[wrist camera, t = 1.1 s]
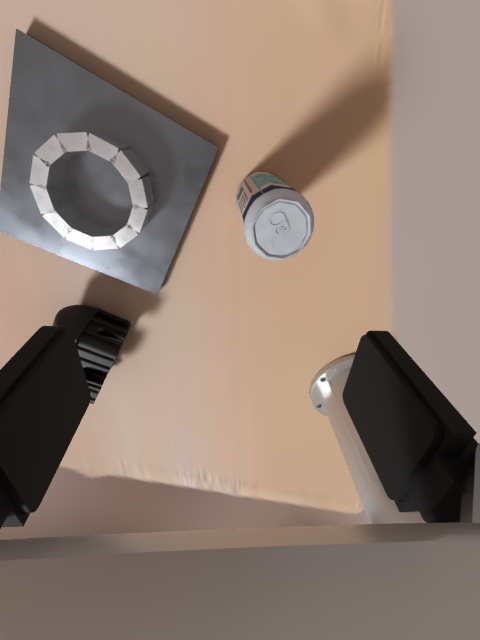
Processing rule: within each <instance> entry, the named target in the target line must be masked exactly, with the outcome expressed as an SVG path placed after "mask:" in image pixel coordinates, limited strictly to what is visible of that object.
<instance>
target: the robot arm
mask: <svg viewBox="0 0 480 640" xmlns="http://www.w3.org/2000/svg"><path fill="white" fill-rule="evenodd" d="M309 394H310V399H311V402H312V404H313V406H314V408H315V409H316V410H317V411H318V412H320V413H321V414H323V415H325V416H328V417H329V420H330V422H331V425H332V428H333V430H334V433H335V435H336V438H337V440H338V443H339V445H340V448H341V451H342V453H343V456H344V458H345V461H346V463H347V466H348V468H349V471H350V474H351V476H352V479H353V481H354V484H355V486H356V489H357V491H358V494H359V497H360V499H361V502H362V504H363V507H364V509H365V512H366V514H367V516H368V518H369V520H370V521H371V523H372V524H364V525H335V526H306V527H279V528H255V529H254V528H253V529H228V530H203V531H179V532H156V533H155V532H154V533H132V534H110V535H88V536H67V537H45V538H29V539H14V540H13V539H12V540H0V640H480V443H479V444H478V443H477V441H476V440H475V439H474V438H473V437H474V435H475V434H476V432H475V431H474V429H473V428H472V427H471V426H470V425H469V424H468V423H467V421H466V420H465V419H464V418H463V417H462V416H461V415H460V413H459V412H458V411H457V410H456V409H455V408H454V406H453V405H452V404H451V403H450V402H449V401H448V400H447V398H446V397H445V396H444V395H443V394H442V393H441V392H440V390H439V389H438V388H437V387H436V386H435V385H434V383H433V382H432V381H431V380H430V379H429V378H428V377H427V375H426V374H425V373H424V372H423V371H422V370H421V368H419V366H418V365H417V364H416V363H415V362H414V360H412V358H411V357H410V356H409V355H408V354H407V352H406V351H405V350H404V349H403V348H402V347H401V345H400V344H399V343H398V342H397V341H396V340H395V339H394V337H393V336H392V335H391V334H390V333H389V332H388V331H368V332H367V333H366V335H363V336H362V337H361V339H360V342H359V345H358V348H357V351H356V354H353V355H348V356H344V357H341V358H339V359H336V360H334V361H332V362H331V363H329V364H327V365H326V366H325V367H323V368H322V369H321V370H320V371H319V372H318V373H317V374H316V375H315V377H314V379H313V380H312V382H311V385H310V390H309ZM90 399H91V394H90V390H89V386H88V383H87V380H86V376H85V373H84V369H83V366H82V363H81V359H80V356H79V352H78V349H77V346H76V342H75V339H74V336H73V333H72V332H71V331H67V329H66V328H65V327H63V326H42V327H41V328H40V329H39V330H38V331H37V332H36V333H35V334H34V335H33V336H32V337H31V338H30V339H29V340H28V341H27V342H26V343H25V344H24V345H23V346H22V348H21V349H20V350H19V351H18V352H17V353H16V354H15V355H14V356H13V357H12V358H11V359H10V360H9V361H8V362H7V363H6V364H5V366H4V367H3V368H2V369H1V370H0V528H1V527H18V526H24V524H25V522H26V520H27V518H28V516H29V514H30V513H31V512H34V511H36V510H37V508H38V507H39V505H40V503H41V501H42V499H43V497H44V495H45V493H46V491H47V489H48V487H49V485H50V483H51V481H52V479H53V477H54V475H55V473H56V471H57V469H58V467H59V465H60V463H61V461H62V459H63V457H64V455H65V452H66V450H67V448H68V446H69V444H70V442H71V440H72V438H73V436H74V434H75V432H76V430H77V428H78V426H79V424H80V422H81V420H82V418H83V416H84V414H85V412H86V410H87V408H88V406H89V403H90Z"/></svg>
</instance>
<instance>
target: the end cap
mask: <svg viewBox="0 0 480 640" xmlns="http://www.w3.org/2000/svg"><path fill="white" fill-rule="evenodd" d="M130 325H131V324H130V322H128V321H127V320H124V319H122V318H120V317H117V316H115V315H112V314H110V313H108V312H105V311H103V310H100V309H97V308H94V307H90V306H84V305H73V306H68V307H65V308H63V309H61V310H60V311H59V312H58V313H57V315H56V317H55V320H54V323H53V326H63V327H65V328H66V329H67V331H71V332H72V333H73V336H74V339H75V342H76V346H77V349H78V352H79V356H80V359H81V363H82V366H83V369H84V373H85V376H86V380H87V383H88V386H89V390H90V394H91V399H90V403H92V404H94V402H95V400H96V397H97V395H98V393H99V391H100V389H101V386H102V384H103V382H104V380H105V378H106V376H107V374H108V373H109V371H110V369H111V367H112V364H113V362H114V360H115V358H116V356H117V354H118V352H119V350H120V348H121V346H122V343H123V341H124V339H125V337H126V335H127V333H128V330H129V328H130Z"/></svg>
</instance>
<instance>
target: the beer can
mask: <svg viewBox="0 0 480 640" xmlns="http://www.w3.org/2000/svg"><path fill="white" fill-rule="evenodd" d="M236 203H237V207H238V210H239V213H240V217H241V221H242V224H243V228H244V233H245V238H246V240H247V243H248V244H249V246H250V247H251V249H252V250H253V251H254V252H255V253H256V254H257V255H259V256H261V257H263V258H265V259H269V260H284V259H288V258H290V257H292V256H294V255H296V254H297V253H299V252H300V251H301V250H302V249H303V248H304V247H305V246H306V244H307V243H308V241H309V239H310V238H311V235H312V232H313V228H314V215H313V211H312V208H311V206H310V204H309V202H308V201H307V200H306V199H305V198H304V197H303V196H302V195H301V194H299V193H298V192H297V191H295V190H294V189H292V188H291V187H290V186H288V185H287V184H285V183H284V182H283V181H281V180H280V179H278V178H277V177H276V176H274V175H273V174H271V173H267V172H255V173H253V174H251V175H249V176H248V177H246V178H245V179H244V180H243V181H242V182H241V184H240V185H239V188H238V190H237V194H236Z"/></svg>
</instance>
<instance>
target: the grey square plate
mask: <svg viewBox="0 0 480 640" xmlns="http://www.w3.org/2000/svg"><path fill="white" fill-rule="evenodd" d="M218 149H219V147H217V146H215V145H214V144H212V143H210V142H208V141H207V140H205V139H203V138H202V137H200V136H198V135H197V134H195V133H193V132H192V131H190V130H188V129H186V128H185V127H183V126H181V125H180V124H178V123H176V122H175V121H173V120H171V119H169V118H168V117H166V116H164V115H163V114H161V113H159V112H158V111H156V110H154V109H153V108H151V107H149V106H147V105H146V104H144V103H142V102H141V101H139V100H137V99H136V98H134V97H132V96H130V95H129V94H127V93H125V92H124V91H122V90H120V89H119V88H117V87H115V86H114V85H112V84H110V83H108V82H107V81H105V80H103V79H102V78H100V77H98V76H97V75H95V74H93V73H92V72H90V71H88V70H86V69H85V68H83V67H81V66H80V65H78V64H76V63H75V62H73V61H71V60H69V59H68V58H66V57H64V56H63V55H61V54H59V53H58V52H56V51H54V50H53V49H51V48H49V47H47V46H46V45H44V44H42V43H41V42H39V41H37V40H36V39H34V38H32V37H30V36H29V35H27V34H25V33H23V32H22V31H20V30H18V29H16V36H15V46H14V57H13V67H12V77H11V87H10V98H9V108H8V118H7V129H6V139H5V149H4V159H3V170H2V180H1V190H0V232H2V233H4V234H7V235H9V236H12V237H14V238H17V239H19V240H22V241H24V242H27V243H29V244H32V245H34V246H37V247H39V248H42V249H44V250H47V251H49V252H52V253H54V254H57V255H59V256H62V257H64V258H67V259H69V260H72V261H74V262H77V263H79V264H82V265H84V266H87V267H89V268H92V269H94V270H97V271H99V272H102V273H104V274H107V275H109V276H112V277H114V278H117V279H119V280H122V281H124V282H127V283H129V284H132V285H134V286H137V287H139V288H142V289H144V290H147V291H149V292H152V293H154V294H157V295H158V293H159V290H160V288H161V286H162V283H163V281H164V278H165V276H166V274H167V271H168V269H169V266H170V264H171V262H172V259H173V257H174V254H175V252H176V250H177V247H178V245H179V242H180V240H181V238H182V235H183V233H184V230H185V228H186V226H187V223H188V221H189V218H190V216H191V214H192V211H193V209H194V206H195V204H196V202H197V199H198V197H199V194H200V192H201V190H202V187H203V185H204V182H205V180H206V178H207V175H208V173H209V170H210V168H211V166H212V163H213V161H214V158H215V156H216V154H217V151H218Z"/></svg>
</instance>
